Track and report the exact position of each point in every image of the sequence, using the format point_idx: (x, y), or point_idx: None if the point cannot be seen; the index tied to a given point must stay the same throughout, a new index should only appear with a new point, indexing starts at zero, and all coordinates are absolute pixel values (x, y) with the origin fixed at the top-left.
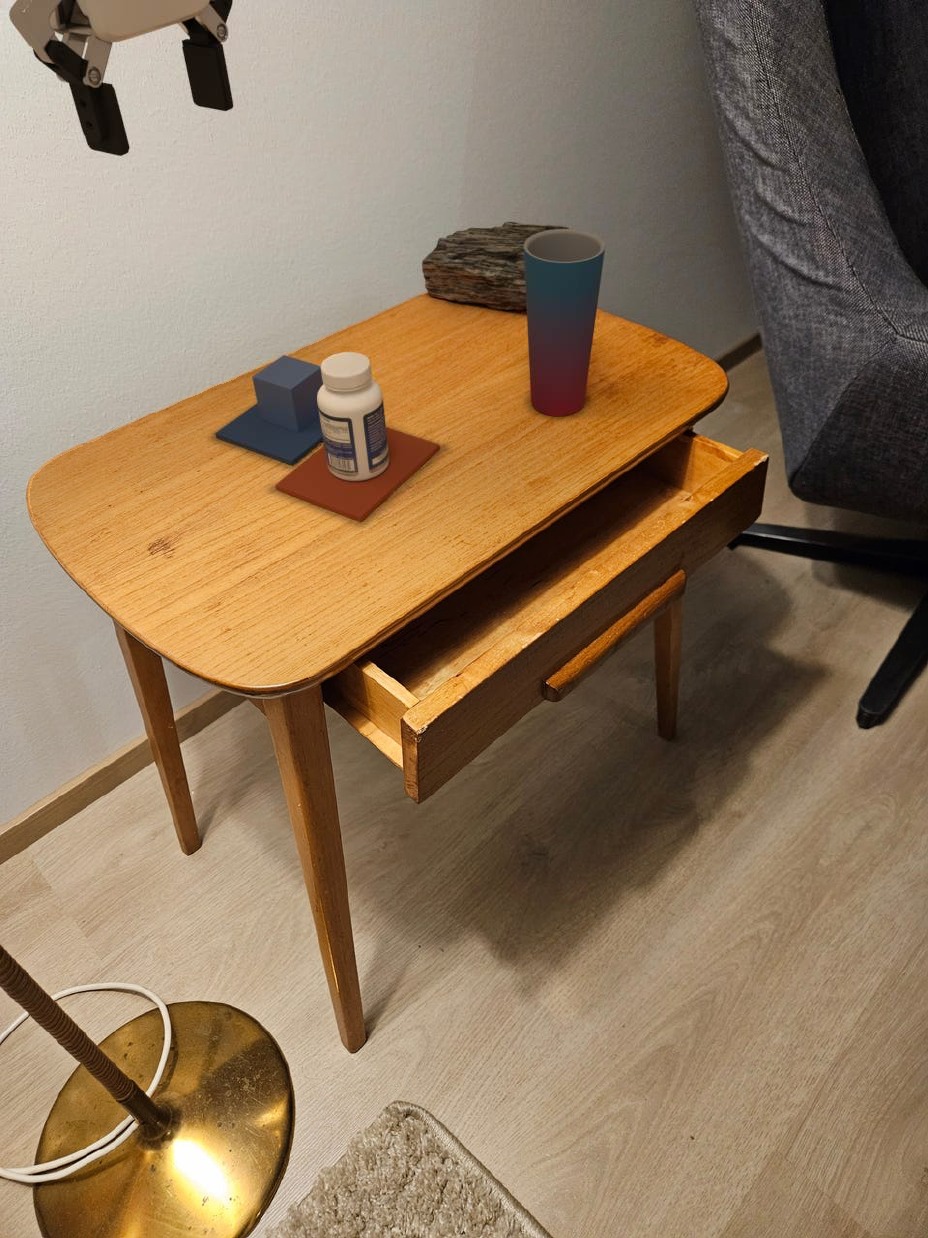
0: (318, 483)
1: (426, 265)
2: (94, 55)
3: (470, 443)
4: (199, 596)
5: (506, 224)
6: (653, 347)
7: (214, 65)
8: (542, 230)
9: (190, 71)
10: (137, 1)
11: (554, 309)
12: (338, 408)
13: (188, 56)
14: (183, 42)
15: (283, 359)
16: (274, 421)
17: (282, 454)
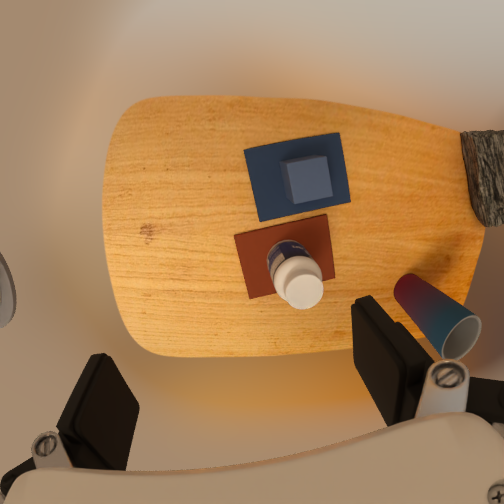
0: (255, 255)
1: (472, 141)
2: None
3: (349, 284)
4: (144, 283)
5: None
6: (466, 284)
7: (380, 405)
8: None
9: (374, 344)
10: None
11: (426, 335)
12: (278, 293)
13: (388, 362)
14: (406, 368)
15: (321, 162)
16: (282, 176)
17: (260, 210)
